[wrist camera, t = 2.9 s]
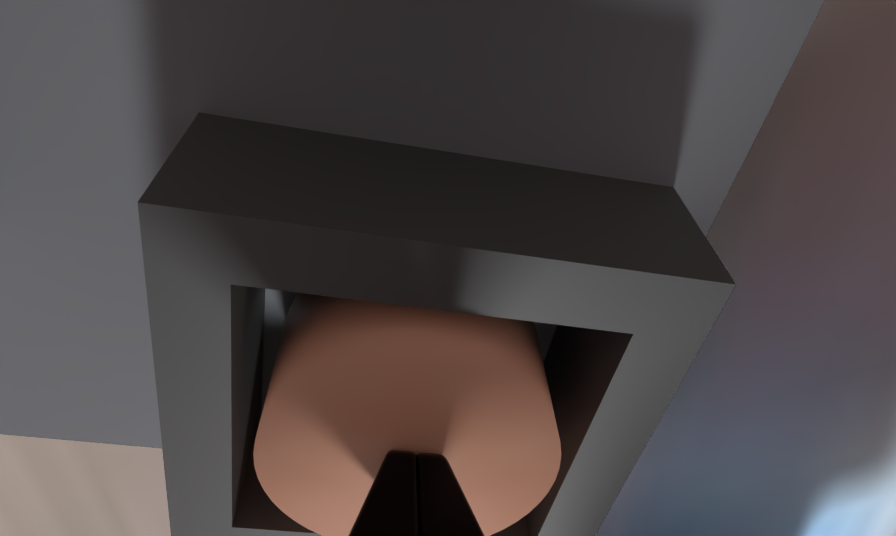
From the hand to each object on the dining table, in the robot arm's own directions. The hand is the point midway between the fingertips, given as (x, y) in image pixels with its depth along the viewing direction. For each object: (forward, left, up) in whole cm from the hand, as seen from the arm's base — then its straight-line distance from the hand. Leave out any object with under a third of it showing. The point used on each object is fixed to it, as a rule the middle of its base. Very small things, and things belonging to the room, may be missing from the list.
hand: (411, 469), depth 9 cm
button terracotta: (0, 0, -3) cm, 3 cm away
